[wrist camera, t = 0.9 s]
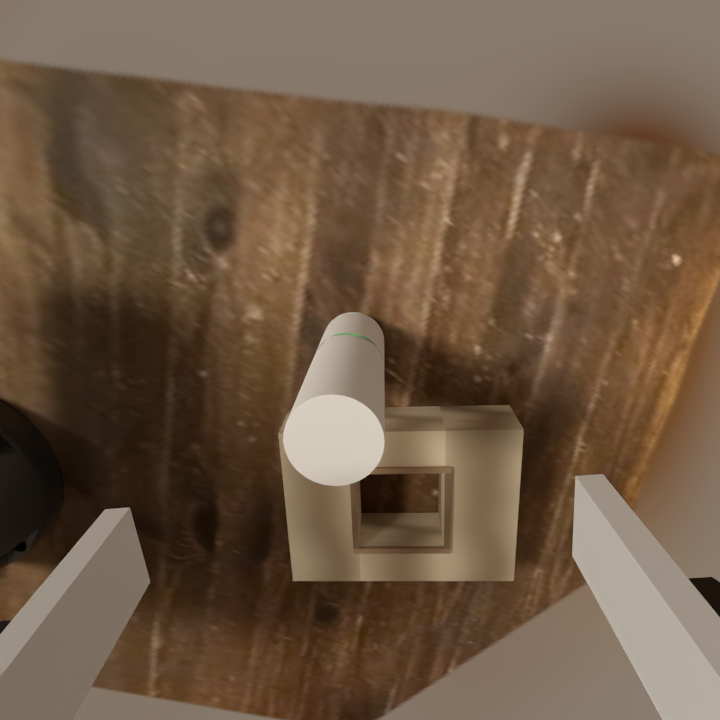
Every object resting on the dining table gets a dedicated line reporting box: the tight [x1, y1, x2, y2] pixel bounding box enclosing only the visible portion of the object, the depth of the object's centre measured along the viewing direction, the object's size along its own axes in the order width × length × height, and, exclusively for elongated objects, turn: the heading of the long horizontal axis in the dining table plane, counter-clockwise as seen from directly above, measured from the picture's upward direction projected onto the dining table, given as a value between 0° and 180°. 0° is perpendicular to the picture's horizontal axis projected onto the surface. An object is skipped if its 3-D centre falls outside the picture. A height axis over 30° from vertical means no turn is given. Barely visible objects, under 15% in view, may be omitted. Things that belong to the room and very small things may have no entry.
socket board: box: [278, 405, 524, 581], centre depth 37 cm, size 16×12×4 cm
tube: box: [283, 312, 385, 486], centre depth 29 cm, size 4×4×15 cm
